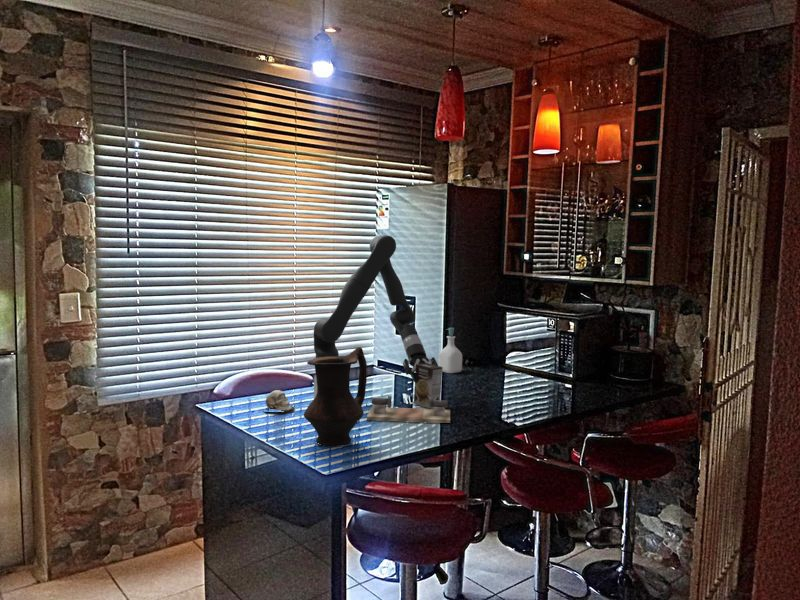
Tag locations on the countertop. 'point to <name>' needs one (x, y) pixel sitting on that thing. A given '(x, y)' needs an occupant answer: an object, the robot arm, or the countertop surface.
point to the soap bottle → (450, 356)
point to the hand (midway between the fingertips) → (426, 381)
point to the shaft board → (409, 412)
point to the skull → (278, 401)
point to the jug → (336, 398)
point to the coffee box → (427, 384)
